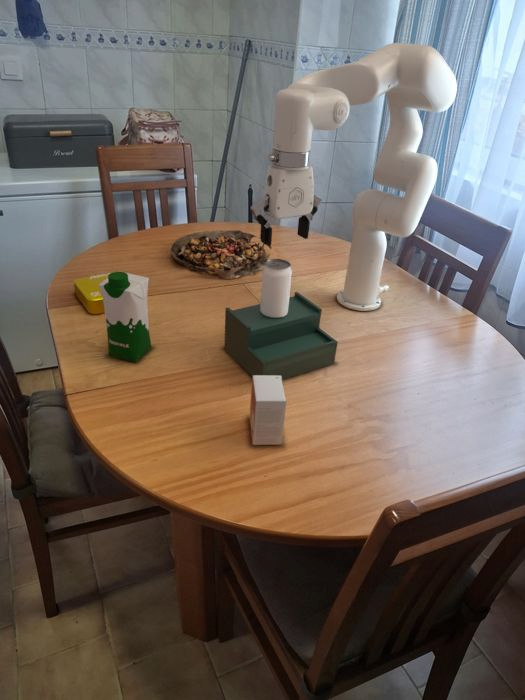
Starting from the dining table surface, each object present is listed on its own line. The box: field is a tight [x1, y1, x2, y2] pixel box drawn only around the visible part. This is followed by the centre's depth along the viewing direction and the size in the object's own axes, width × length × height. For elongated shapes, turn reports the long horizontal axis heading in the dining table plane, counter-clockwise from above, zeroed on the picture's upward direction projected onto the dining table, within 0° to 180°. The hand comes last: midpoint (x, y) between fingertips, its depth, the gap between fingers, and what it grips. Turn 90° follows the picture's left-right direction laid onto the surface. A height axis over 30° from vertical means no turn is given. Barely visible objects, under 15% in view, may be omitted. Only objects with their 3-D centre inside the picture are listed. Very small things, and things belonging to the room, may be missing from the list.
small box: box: [249, 375, 287, 446], centre depth 95 cm, size 8×6×10 cm
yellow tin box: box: [73, 270, 128, 315], centre depth 138 cm, size 15×15×5 cm
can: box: [259, 258, 293, 318], centre depth 114 cm, size 6×6×12 cm
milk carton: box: [99, 271, 152, 363], centre depth 113 cm, size 9×9×20 cm
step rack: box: [223, 291, 338, 381], centre depth 118 cm, size 17×20×11 cm
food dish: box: [169, 229, 273, 280], centre depth 168 cm, size 35×33×8 cm
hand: (284, 240), depth 111 cm, fingers open, 9 cm apart
